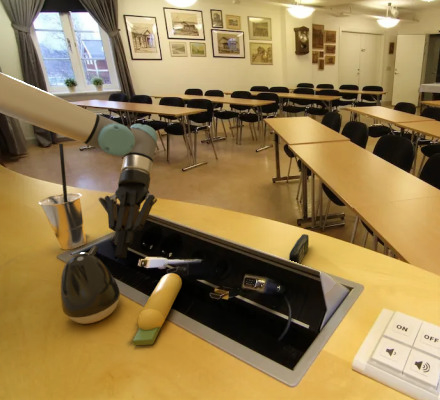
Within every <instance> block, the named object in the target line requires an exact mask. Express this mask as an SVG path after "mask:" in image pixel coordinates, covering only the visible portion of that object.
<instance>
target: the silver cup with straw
mask: <svg viewBox="0 0 440 400" xmlns="http://www.w3.org/2000/svg"><path fill="white" fill-rule="evenodd" d="M58 147H59V149H58V150H59V160H60V173H61V185H62V193H58V194H54V195H49V196H46V197H43V198H41V199H40V200H38V201H37V204H38V205H40V206H41V208H42V211H43V213H44V214H45V218H46V219H47V221H48V223H49V225H50V227H51V229H52V231H53V234H54V235H55V237H56V240H57V242H58V244H59V246H60V249H62V250H67V251H68V250H74V248H75V249H78V248H80V247H79V246H81V247H82V245H83V246H84V245H86V243H87V239H86V232H85V231H86V230H85V226H84V218H83V211H82V203H81V198H82V194H81V193H77V192H68V190H67V189H68V187H67V176H66V165H65V155H64V144H63V143H58ZM77 247H78V248H77Z"/></svg>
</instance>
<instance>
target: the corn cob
mask: <svg viewBox="0 0 440 400" xmlns="http://www.w3.org/2000/svg"><path fill="white" fill-rule="evenodd" d="M182 281H183V280H182V278H181V277H180V275H178V274H177V273H174V272H170V273H167V274H165V275H163V276H161V278H160V280H159V281H158V283H157V285H156V286H155V288H154V290H153V291H152V293H151V294H150V296H149V298H148V299H147V301H146V302H145V305H144V306H143V308H142V309H141V311H140V312H139V315H138V316H137V326H138V327H139V329H138V330H137V332H136V334H135V335H134V337H133V339H132V344H133V346H144V345H145V346H146V345H153V344H154V343H155V341H156V339H157V336H158V335H159V333H160V330H161V329H162V326H163V324H164V323H165V321H166V319H167V316H168V315H169V312H170V310H171V308H172V306H173V305H174V302H175V301H176V298H177V296H178V294H179V292H180V290H181V288H182V284H183V282H182Z"/></svg>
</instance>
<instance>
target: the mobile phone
mask: <svg viewBox="0 0 440 400" xmlns="http://www.w3.org/2000/svg"><path fill="white" fill-rule="evenodd" d="M309 238H310V237H309V234H305V233H303V234H301V235H300V237H299V238H298V239H297V240H296V242H295V243H294V245H293V247H292V248H291V250H290V252H289V257H288V258H289V259H288V261H289V260H291V261H294V262H297V263H300V264H301V263H302V261H303V260H304V259H303V258H304V257H305V256H306V254H307V253H308V250H309V245H310V243H309V242H310V241H309V240H310V239H309Z"/></svg>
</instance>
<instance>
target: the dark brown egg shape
mask: <svg viewBox="0 0 440 400" xmlns="http://www.w3.org/2000/svg"><path fill="white" fill-rule="evenodd" d="M98 250H99V246H97V245H93V246H92V247H91V248H90V250H89V251H88V252H78V253H75V254H72V256H70V257H69V258H68V259H67V260H66V262H65V264H64V266H63V269H62V272H61V276H60V290H59V291H60V293H59V294H60V303H61V304H60V305H61V310H62V312H63V314H64V315H65V316H66V317H68V318H69V319H70V320H72V321H73V322H75V323H78V324H83V325H84V324H94V323H97V322H99V321H102V320H104V319H105V318H107V317H109V316H110V315H111V314H112V313H113V312H114V311H115V309H116V308H117V307H118V303H119V299H120V296H121V292H120V291H121V290H120V288H119V286H118V283H117V281H116V279H115V277H114V275H113V274H112V272H111V270H109V268H108V267H107V265H106V264H105V263H104V262H103V261H102V260H101V259H100V258H99V257H98V256H96V254H97V253H98Z"/></svg>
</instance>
